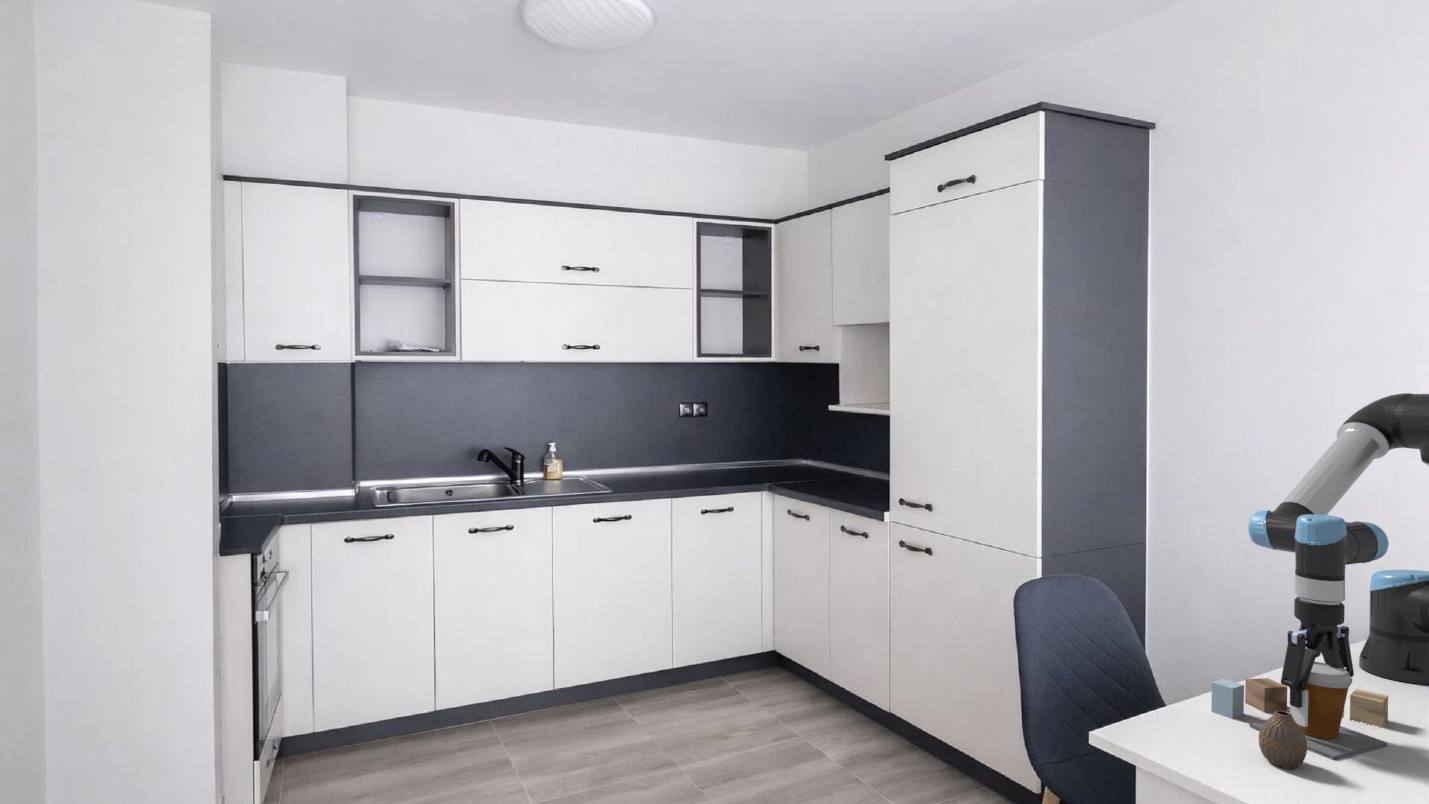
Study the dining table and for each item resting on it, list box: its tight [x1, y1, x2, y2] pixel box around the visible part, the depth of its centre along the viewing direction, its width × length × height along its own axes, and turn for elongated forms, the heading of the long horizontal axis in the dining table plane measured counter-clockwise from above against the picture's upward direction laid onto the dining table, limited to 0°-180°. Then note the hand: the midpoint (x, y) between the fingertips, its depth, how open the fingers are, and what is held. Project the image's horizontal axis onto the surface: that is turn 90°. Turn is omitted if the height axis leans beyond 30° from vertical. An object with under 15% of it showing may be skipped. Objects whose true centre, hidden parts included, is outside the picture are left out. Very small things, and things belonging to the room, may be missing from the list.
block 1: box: [1210, 678, 1245, 720], centre depth 165 cm, size 4×6×4 cm
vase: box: [1258, 710, 1308, 769], centre depth 144 cm, size 7×7×9 cm
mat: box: [1249, 719, 1388, 761], centre depth 155 cm, size 15×15×1 cm
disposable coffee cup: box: [1298, 661, 1353, 739], centre depth 154 cm, size 10×10×12 cm
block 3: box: [1349, 688, 1389, 729], centre depth 162 cm, size 5×5×5 cm
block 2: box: [1244, 677, 1288, 713], centre depth 168 cm, size 5×5×5 cm
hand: (1317, 719), depth 155 cm, fingers open, 9 cm apart
